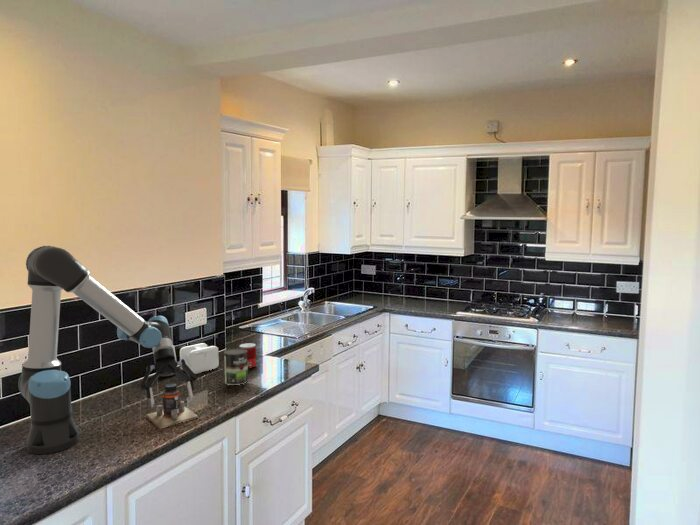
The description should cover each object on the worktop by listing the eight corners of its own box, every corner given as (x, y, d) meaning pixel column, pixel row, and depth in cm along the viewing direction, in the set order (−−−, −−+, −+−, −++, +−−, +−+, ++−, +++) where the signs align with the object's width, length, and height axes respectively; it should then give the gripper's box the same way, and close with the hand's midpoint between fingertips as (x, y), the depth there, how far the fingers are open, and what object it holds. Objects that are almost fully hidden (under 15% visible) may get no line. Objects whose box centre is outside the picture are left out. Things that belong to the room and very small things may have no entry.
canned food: (259, 366, 254) (259, 344, 253) (248, 370, 247) (247, 348, 246) (248, 363, 258) (247, 342, 257) (236, 367, 251) (235, 345, 250)
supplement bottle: (182, 415, 189) (181, 385, 188) (165, 419, 186) (164, 388, 185) (178, 410, 194) (177, 381, 193) (162, 413, 191) (160, 384, 190)
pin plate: (159, 428, 180) (159, 416, 180) (146, 416, 191) (146, 405, 191) (198, 418, 189) (197, 406, 189) (183, 407, 200) (182, 396, 200)
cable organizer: (207, 364, 257) (207, 341, 256) (219, 368, 250) (218, 345, 249) (180, 371, 246) (179, 347, 245) (191, 376, 239) (190, 351, 238)
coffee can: (252, 382, 229) (251, 351, 228) (231, 387, 223) (230, 355, 221) (241, 377, 237) (240, 347, 236) (220, 381, 230) (219, 351, 229)
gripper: (194, 353, 208) (205, 400, 196) (128, 362, 196) (135, 413, 184) (197, 342, 203) (208, 391, 191) (129, 351, 190) (136, 403, 179)
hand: (172, 402), depth 188 cm, fingers open, 13 cm apart
